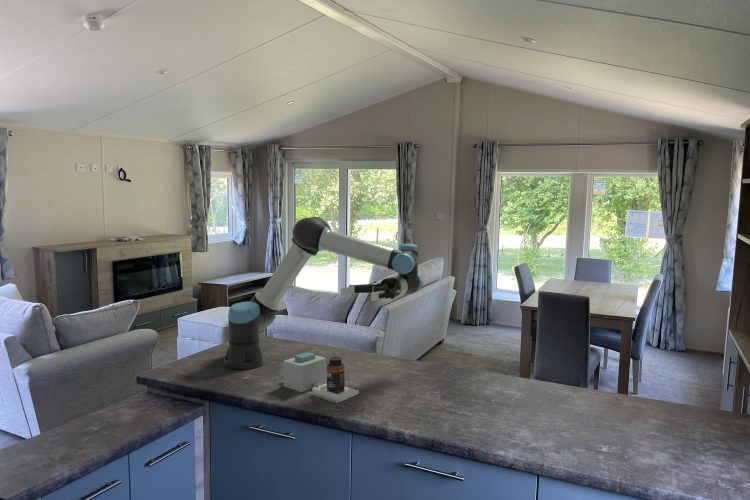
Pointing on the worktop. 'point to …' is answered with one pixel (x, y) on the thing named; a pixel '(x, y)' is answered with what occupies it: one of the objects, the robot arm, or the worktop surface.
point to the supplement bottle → (335, 375)
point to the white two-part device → (311, 377)
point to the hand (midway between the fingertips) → (356, 294)
